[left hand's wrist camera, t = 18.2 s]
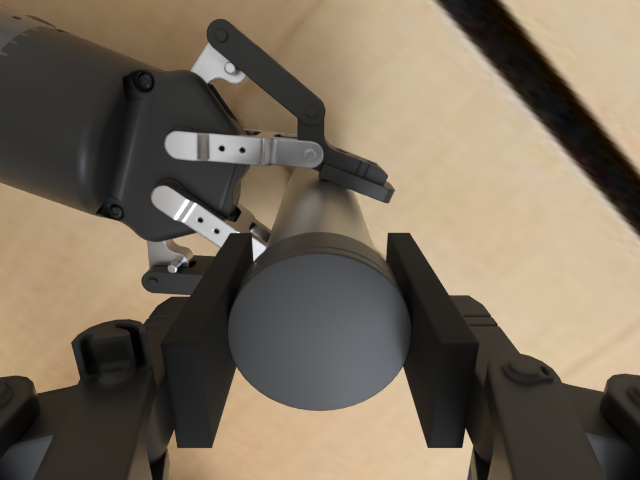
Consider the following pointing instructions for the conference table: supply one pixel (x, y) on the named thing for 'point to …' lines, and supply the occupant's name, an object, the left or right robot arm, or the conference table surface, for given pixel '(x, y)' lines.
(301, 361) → the lid
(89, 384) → the left robot arm
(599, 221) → the conference table surface
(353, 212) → the jar
